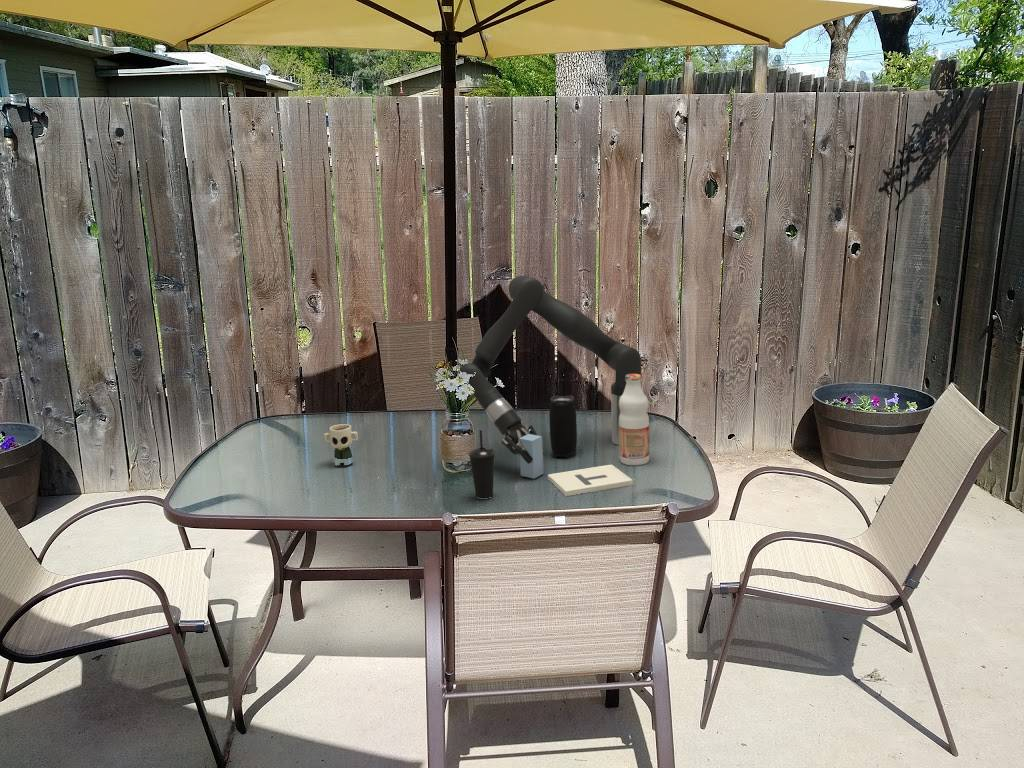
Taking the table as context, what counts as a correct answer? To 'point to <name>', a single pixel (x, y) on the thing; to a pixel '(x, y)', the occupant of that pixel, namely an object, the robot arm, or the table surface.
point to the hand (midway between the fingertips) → (536, 458)
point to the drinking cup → (482, 469)
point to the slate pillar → (536, 452)
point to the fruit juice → (633, 423)
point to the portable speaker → (563, 426)
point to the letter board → (589, 480)
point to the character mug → (341, 440)
